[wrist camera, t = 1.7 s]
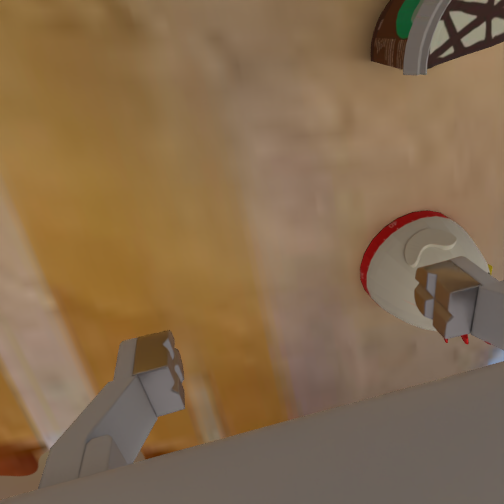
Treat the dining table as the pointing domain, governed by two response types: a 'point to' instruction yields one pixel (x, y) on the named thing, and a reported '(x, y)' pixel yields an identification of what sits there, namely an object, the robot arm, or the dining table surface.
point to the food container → (435, 32)
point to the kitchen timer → (413, 261)
